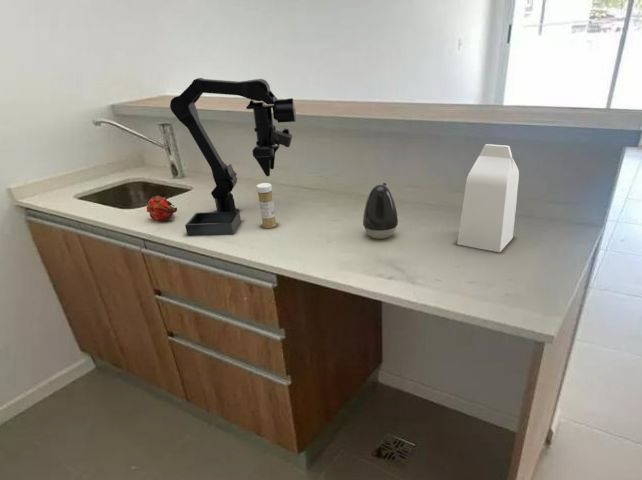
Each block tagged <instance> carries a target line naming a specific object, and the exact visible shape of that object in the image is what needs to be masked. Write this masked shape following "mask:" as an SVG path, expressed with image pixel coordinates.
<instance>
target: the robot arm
mask: <svg viewBox="0 0 642 480" xmlns="http://www.w3.org/2000/svg"><path fill="white" fill-rule="evenodd" d="M203 94H215V95H226V96H227V95H228V96H239V97H242V98H246V99H248V100H250V101H249V103H248V104H247V106H245V107H246V110H252V111H253V118H254V119H253V121H254V126H255V127H254V129H253V130H254V133H256V141H255V143H256V145H255V146H254V148H253V149H252V157H253V158H254V159H255V160H256V162H257V163H258V165H259V166H260V168H261V170H262V172H263V174H264V175H265V176H266V177H270V176H271V170H274V169H275V160H276V152H277V150H279V148H280V145H281V146H283V147H285V148H290V146H291V143H292V139H293V135H292V134H291V133H290V129H289V128H283V130H277V128H276V125H275V124H274V120H275V121H277V123H279V124H280V123H296V122H297V113H296V108H295V102H294V98H293V97H289V98H285V99H278V98H277V97H276V95H275V94H274V93H273V91H272V90H271V86H270V84H269V83H268V81H267V80H266V79H264V78H256V79H249V80H248V79H247V80H242V81H237V80H223V79H208V78H203V77H198V78H195V79H193V81H192V82H191V83H190V84H189V86H187V88H185V90H183V92H182V93H180V94H179V95H176V96H174V97H173V98H172V99H171V100H170V105H169V106H170V107H169V108H170V110H171V111H170V112H172V114H173V115H174V117H176V118H177V120H178V121H179V122H180V123H181V124H182V125H183V126H184V127H186V128H187V130H188V131H189V133H190V135H191V136H192V138H193V140H194V141H195V143H196V146H197V147H198V148H199V150H200V152H201V154H202V156H203V157H204V159H205V160H206V162H207V164H208V166H209V167H210V169H211V173H212V178H213V181H214V184H215V187H214V188H213V189H212V191H211V192H210V194H211V196H212V198H213V199H214V202H215V208H216V209H215V210H213V211H212V212H229V211H239V212H240V209H239V208H237V207H236V204H235V199H234V194H232V192H233V189H234V188H235V186H236V185H237V182H238V178H237V175H238V173H237V172H236V171H235V170H234V168H233V166H232V164H231V163H230V164H228V165H227V164H226V163H225V162H224V161H223V160H222V158H221V156H220V154H219V153H218V151H217V149H216V147H215V146H214V144H213V142H212V140H211V138H210V137H209V134H208V133H207V131H206V130H205V128H204V126H203V125H202V123H201V121H200V116H199V113H198V112H199V111H198V109H197V106H196V103H197V101H199V99H200V98H201V96H202V95H203ZM255 101H256V102H255Z"/></svg>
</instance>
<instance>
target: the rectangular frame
mask: <svg viewBox="0 0 642 480" xmlns="http://www.w3.org/2000/svg"><path fill="white" fill-rule="evenodd" d="M241 221H242V219H241V213H240V210H239V211H229V212H213V211H207V212H205V211H204V212H203V211H202V212H195V213H194V214H193V215H192V217H191V218H190V219H189V220H188V221H187V222H186V223H185V224H184V226H185V230H186V235H187V236H188V237H190V236H191V237H192V236H193V237H194V236H216V235H217V236H218V235H221V236H222V235H234V233H235V232H236V230H237V229H238V227H239V225H240V224H241Z"/></svg>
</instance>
